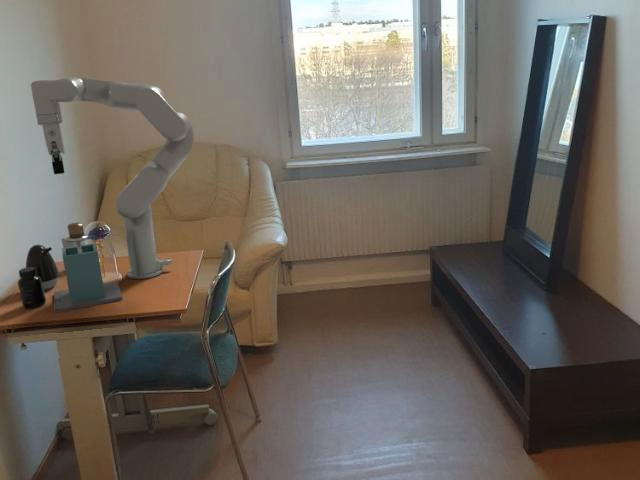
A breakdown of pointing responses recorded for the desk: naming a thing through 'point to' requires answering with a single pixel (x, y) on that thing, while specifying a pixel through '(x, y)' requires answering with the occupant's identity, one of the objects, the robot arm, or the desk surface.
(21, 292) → the supplement bottle
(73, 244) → the skincare box
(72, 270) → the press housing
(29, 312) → the desk surface
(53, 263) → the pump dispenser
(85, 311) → the desk surface
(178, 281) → the desk surface
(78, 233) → the plunger
